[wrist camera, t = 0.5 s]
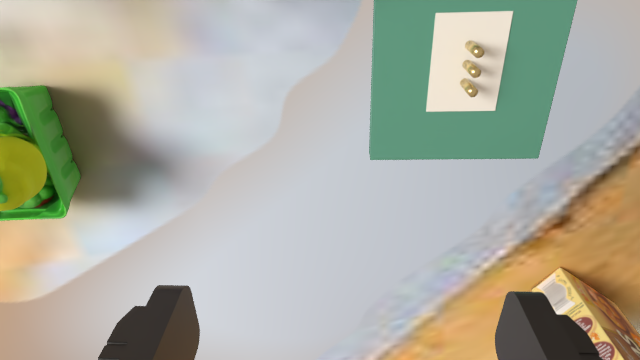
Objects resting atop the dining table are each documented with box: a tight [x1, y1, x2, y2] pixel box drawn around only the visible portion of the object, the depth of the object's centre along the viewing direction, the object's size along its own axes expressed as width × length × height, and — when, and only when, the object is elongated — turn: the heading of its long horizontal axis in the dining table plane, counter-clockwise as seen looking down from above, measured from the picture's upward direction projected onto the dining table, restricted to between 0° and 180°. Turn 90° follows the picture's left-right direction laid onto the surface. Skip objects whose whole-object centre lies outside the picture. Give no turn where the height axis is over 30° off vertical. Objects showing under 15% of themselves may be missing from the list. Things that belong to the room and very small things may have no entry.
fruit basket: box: [0, 86, 81, 221], centre depth 33 cm, size 11×9×11 cm
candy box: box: [532, 268, 640, 360], centre depth 38 cm, size 9×4×15 cm, turn 57°
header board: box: [369, 0, 577, 160], centre depth 32 cm, size 16×14×4 cm
